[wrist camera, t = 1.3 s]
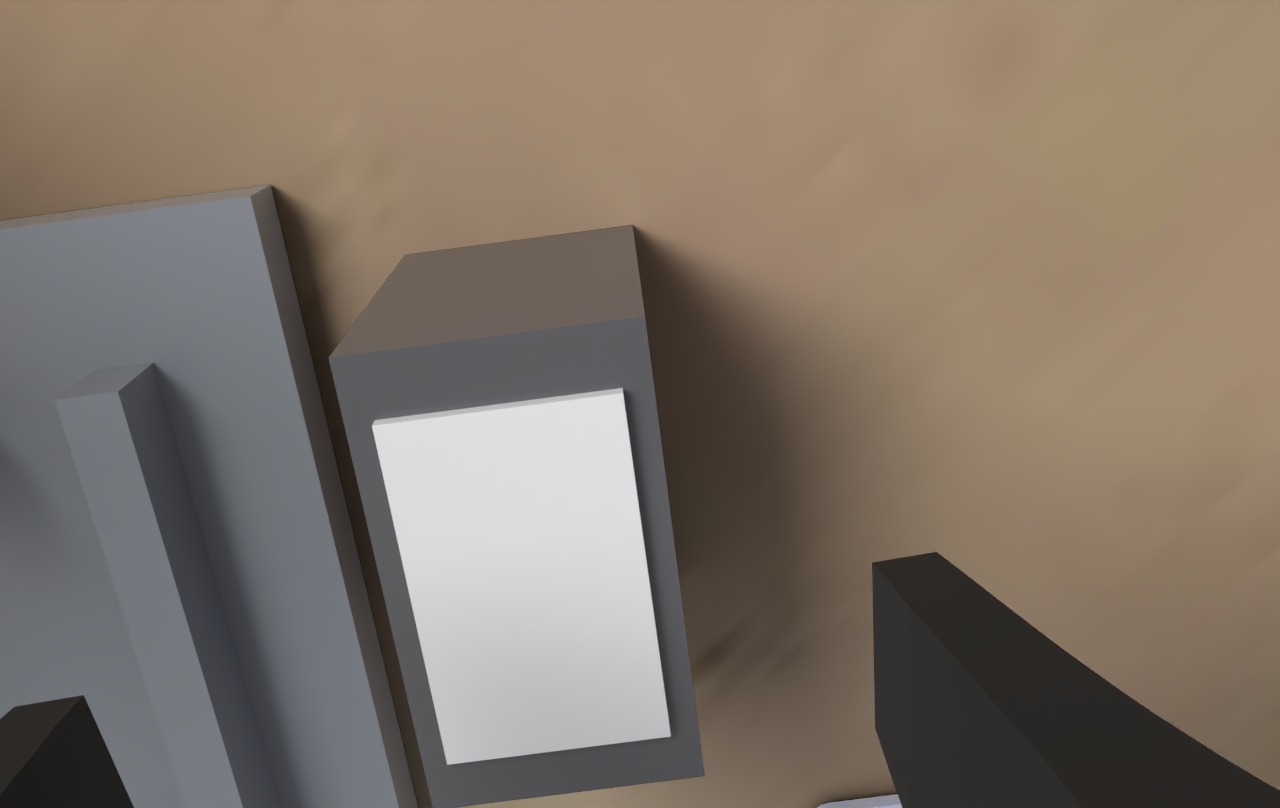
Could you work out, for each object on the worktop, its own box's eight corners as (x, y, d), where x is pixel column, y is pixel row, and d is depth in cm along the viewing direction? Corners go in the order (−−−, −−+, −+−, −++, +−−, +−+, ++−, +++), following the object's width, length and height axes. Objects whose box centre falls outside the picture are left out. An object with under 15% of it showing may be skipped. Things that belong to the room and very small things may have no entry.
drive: (677, 577, 22) (705, 784, 16) (475, 603, 22) (431, 819, 16) (631, 223, 20) (645, 321, 14) (405, 254, 20) (325, 362, 14)
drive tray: (444, 918, 25) (414, 1093, 21) (-99, 986, 25) (-231, 1173, 21) (270, 184, 19) (186, 233, 15) (-423, 277, 19) (-683, 348, 16)
